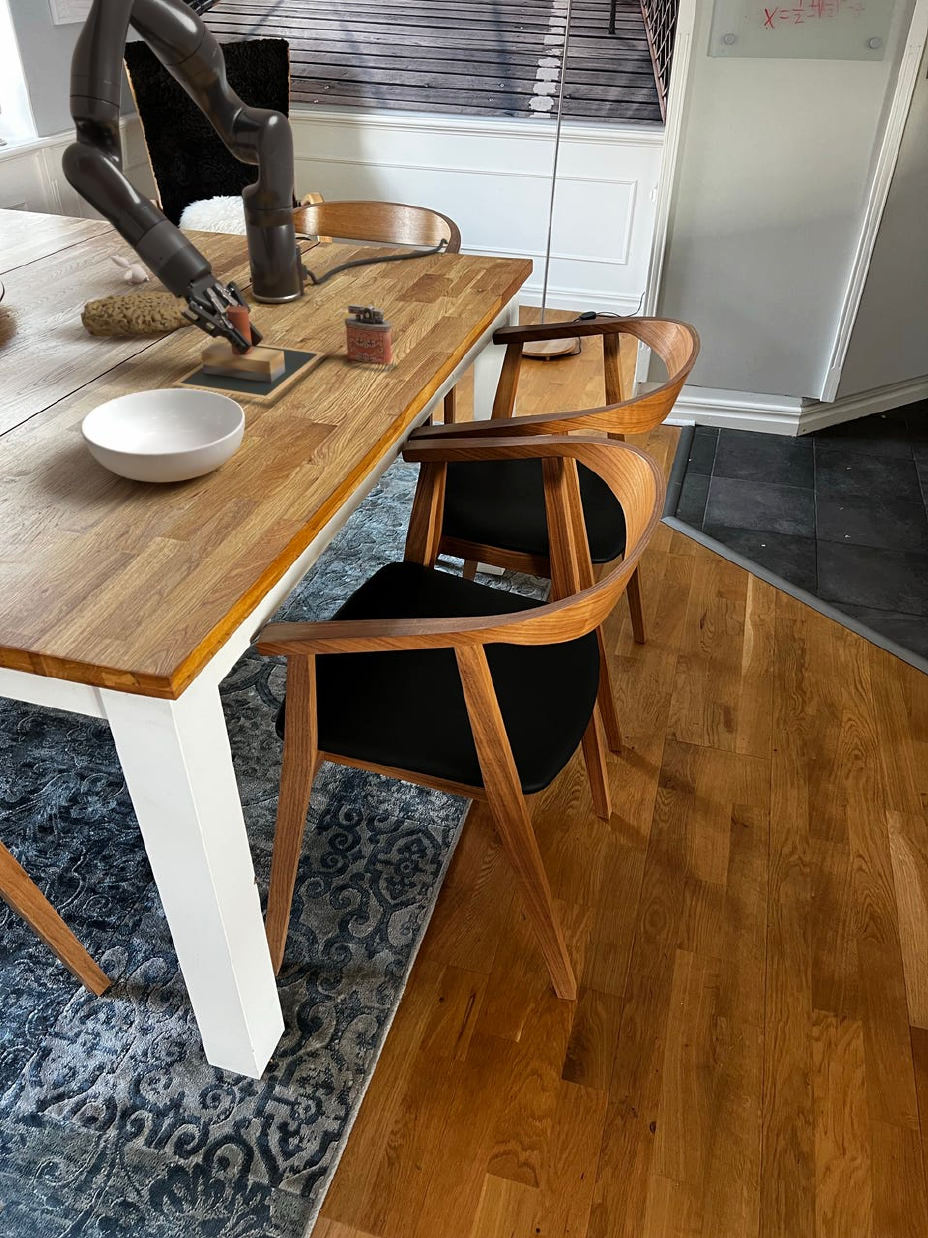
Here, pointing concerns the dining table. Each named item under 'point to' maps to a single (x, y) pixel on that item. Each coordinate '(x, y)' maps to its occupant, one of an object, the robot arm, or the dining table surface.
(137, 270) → the rabbit figurine
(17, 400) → the dining table surface
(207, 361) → the eraser
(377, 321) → the lighter
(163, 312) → the sponge
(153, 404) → the serving bowl
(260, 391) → the board
